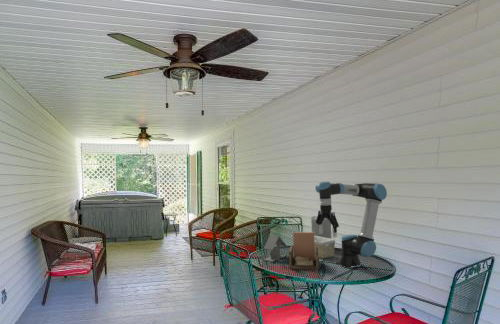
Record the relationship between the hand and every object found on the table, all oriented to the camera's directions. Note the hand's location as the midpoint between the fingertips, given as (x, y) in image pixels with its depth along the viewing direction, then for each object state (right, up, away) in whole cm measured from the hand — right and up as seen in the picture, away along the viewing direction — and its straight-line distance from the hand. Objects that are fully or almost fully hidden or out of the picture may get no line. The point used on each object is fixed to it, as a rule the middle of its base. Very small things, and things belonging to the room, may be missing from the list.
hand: (327, 235), depth 224 cm
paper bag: (+11, -30, +80) cm, 86 cm away
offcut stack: (-12, -29, +23) cm, 39 cm away
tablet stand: (-32, -32, +51) cm, 68 cm away
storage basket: (+6, -30, +56) cm, 64 cm away
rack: (-11, -30, +27) cm, 42 cm away
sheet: (-10, -29, +32) cm, 44 cm away
